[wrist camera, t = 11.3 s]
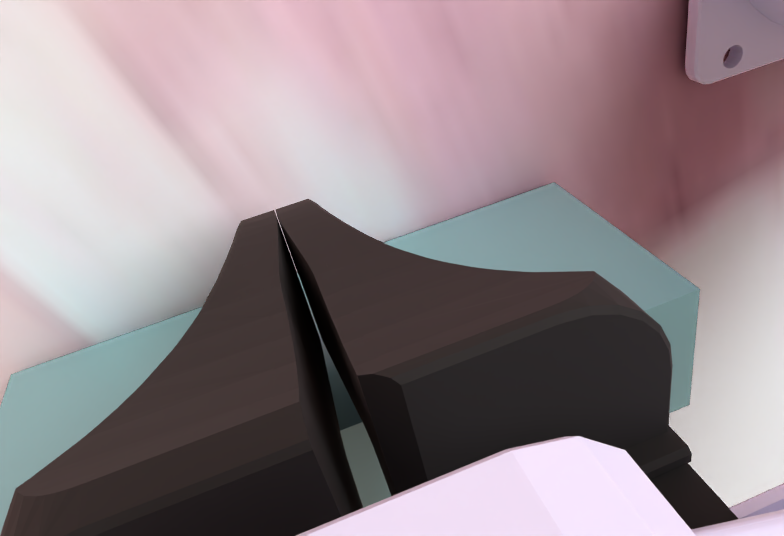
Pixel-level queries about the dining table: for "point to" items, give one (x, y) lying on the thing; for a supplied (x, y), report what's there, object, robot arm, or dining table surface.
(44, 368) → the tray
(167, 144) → the dining table surface
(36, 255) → the dining table surface
